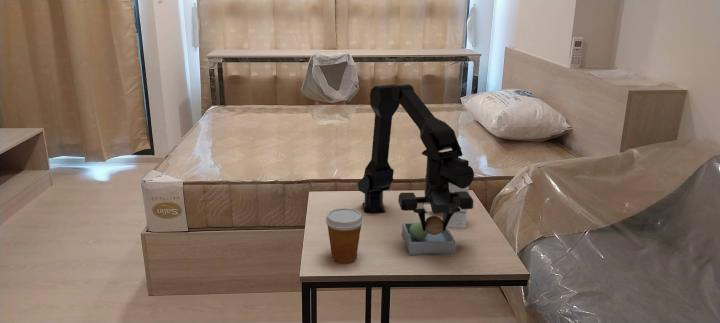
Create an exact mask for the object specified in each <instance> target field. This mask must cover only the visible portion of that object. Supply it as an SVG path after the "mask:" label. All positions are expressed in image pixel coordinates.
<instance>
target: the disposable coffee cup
mask: <svg viewBox="0 0 720 323" xmlns="http://www.w3.org/2000/svg"><path fill="white" fill-rule="evenodd" d="M324 220H325V223H326V225H327V231H328V238H329V245H330V254H331V258H332V260H333V261H334V262H335V263H337V264H350V263H353V262H354V261H356V259H357V255H358V249H359V243H360V237H361V235H360V234H361V229H362V228H361V227H362V225H363V223H364V217H363V215H362V213H361V212H360V211H358V210H357V209H354V208H350V207H349V208H348V207H347V208H346V207H342V208H341V207H339V208H335V209H332V210H330V211H329V212H328V213H327V214H326V217H325V219H324Z"/></svg>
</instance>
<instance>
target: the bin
mask: <svg viewBox="0 0 720 323" xmlns="http://www.w3.org/2000/svg"><path fill="white" fill-rule="evenodd" d="M413 223H414V222H402V225H401V236H402V238H403V241H404V244H405V247H406V251H407V252H408V255H409V256H426V255H427V256H430V255H432V256H433V255H436V256H437V255H455V254H456V253H455V252H456V243H457V242H456V240H455V239H454V237H453V235H452V233H451V230H450V229H449V227H448V226H447V227H446V229H445V230H444V231H443V230H442V231H441V232H440V233H439V234H436V235H432V234H429V233H428V234H427V236H426V237H425V238H424V239H422V240H416V239H414V238H412V236H411V235H410V227H411V225H412V224H413Z"/></svg>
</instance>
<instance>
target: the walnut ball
mask: <svg viewBox="0 0 720 323" xmlns="http://www.w3.org/2000/svg"><path fill="white" fill-rule="evenodd" d="M442 219H443V218H441V217H439V216H436V215H430V216H428V217H427V218H425V229H426V231H427V232H428V233H429V234H432V235H436V234H439V233H440V232H441V231H442V230H443V226H444V225H443V221H442Z"/></svg>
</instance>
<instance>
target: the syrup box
mask: <svg viewBox="0 0 720 323" xmlns="http://www.w3.org/2000/svg"><path fill="white" fill-rule="evenodd" d="M469 187H470V185H469V186H468V187H466V188H459V187H457V186H455V185H453V184H451V183H449V191H450V192H452V193H454V192H463V191H467V192H468V193H469V189H470V188H469ZM459 208H460V207H459ZM467 215H468V209H461V208H460V211H459V212H456V213H454V214H453V215H452V217H451V218H450V220H449V222H448V224H447V227H448V228H458V229H466V228H467V218H468V216H467Z"/></svg>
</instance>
